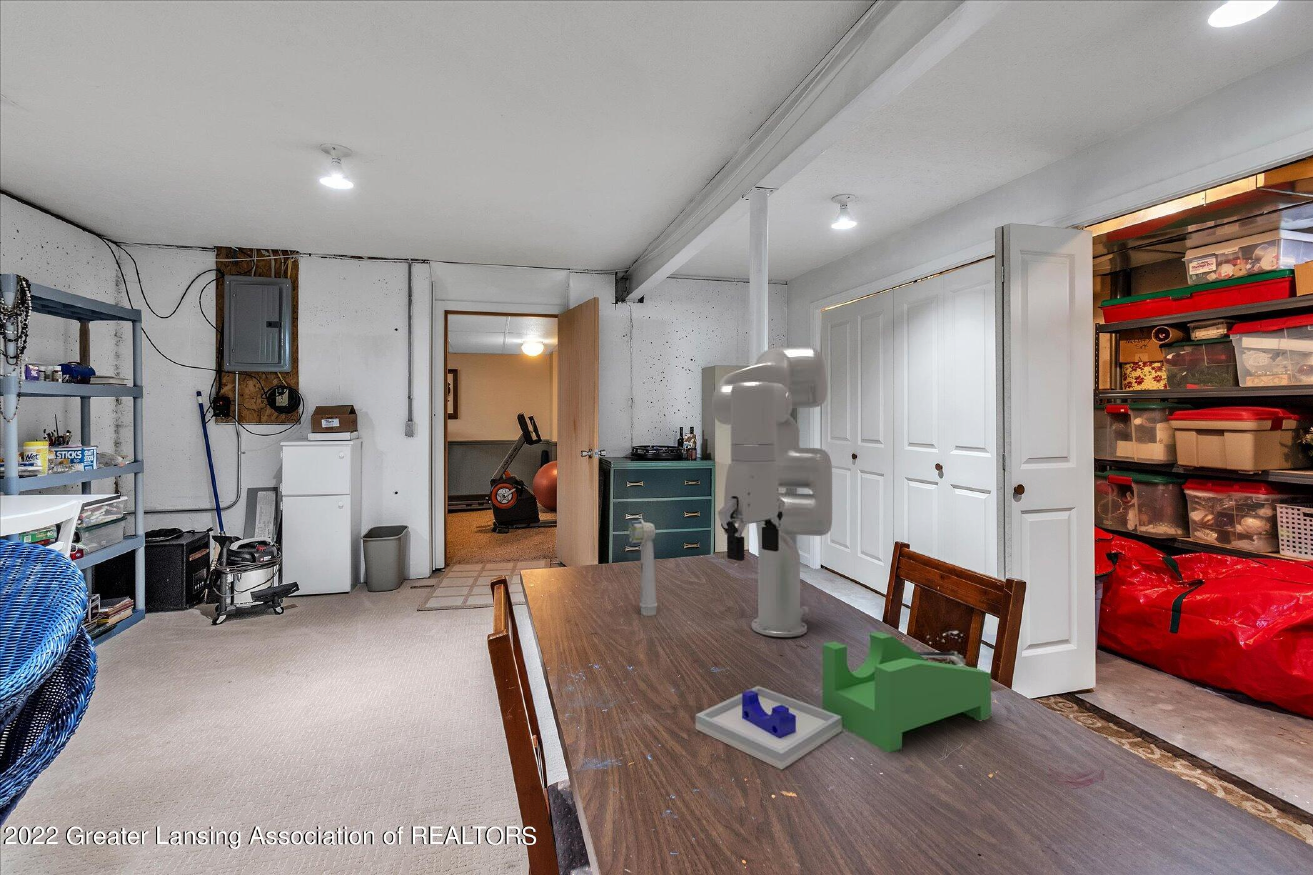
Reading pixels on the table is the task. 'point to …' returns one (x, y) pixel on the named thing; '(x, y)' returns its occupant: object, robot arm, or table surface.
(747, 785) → the table surface
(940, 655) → the silver rectangular box
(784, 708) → the cable holder
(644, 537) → the toothbrush head
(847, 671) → the green cradle stand
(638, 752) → the table surface
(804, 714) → the tray
